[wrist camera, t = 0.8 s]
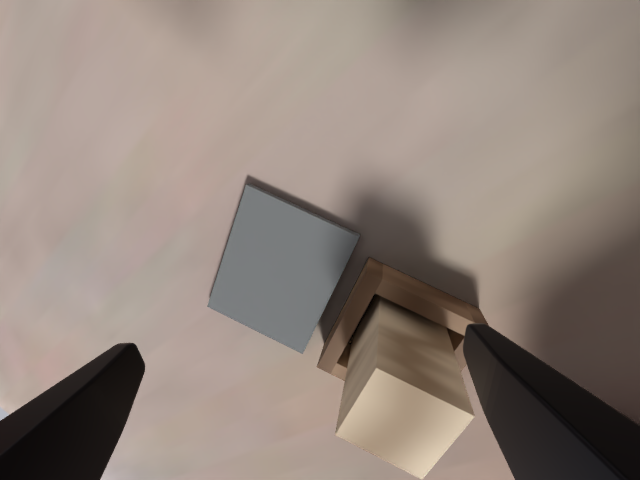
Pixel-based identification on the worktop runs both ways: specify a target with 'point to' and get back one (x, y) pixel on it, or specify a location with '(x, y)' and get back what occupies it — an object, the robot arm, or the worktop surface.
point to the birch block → (402, 389)
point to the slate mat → (280, 267)
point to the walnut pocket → (405, 294)
